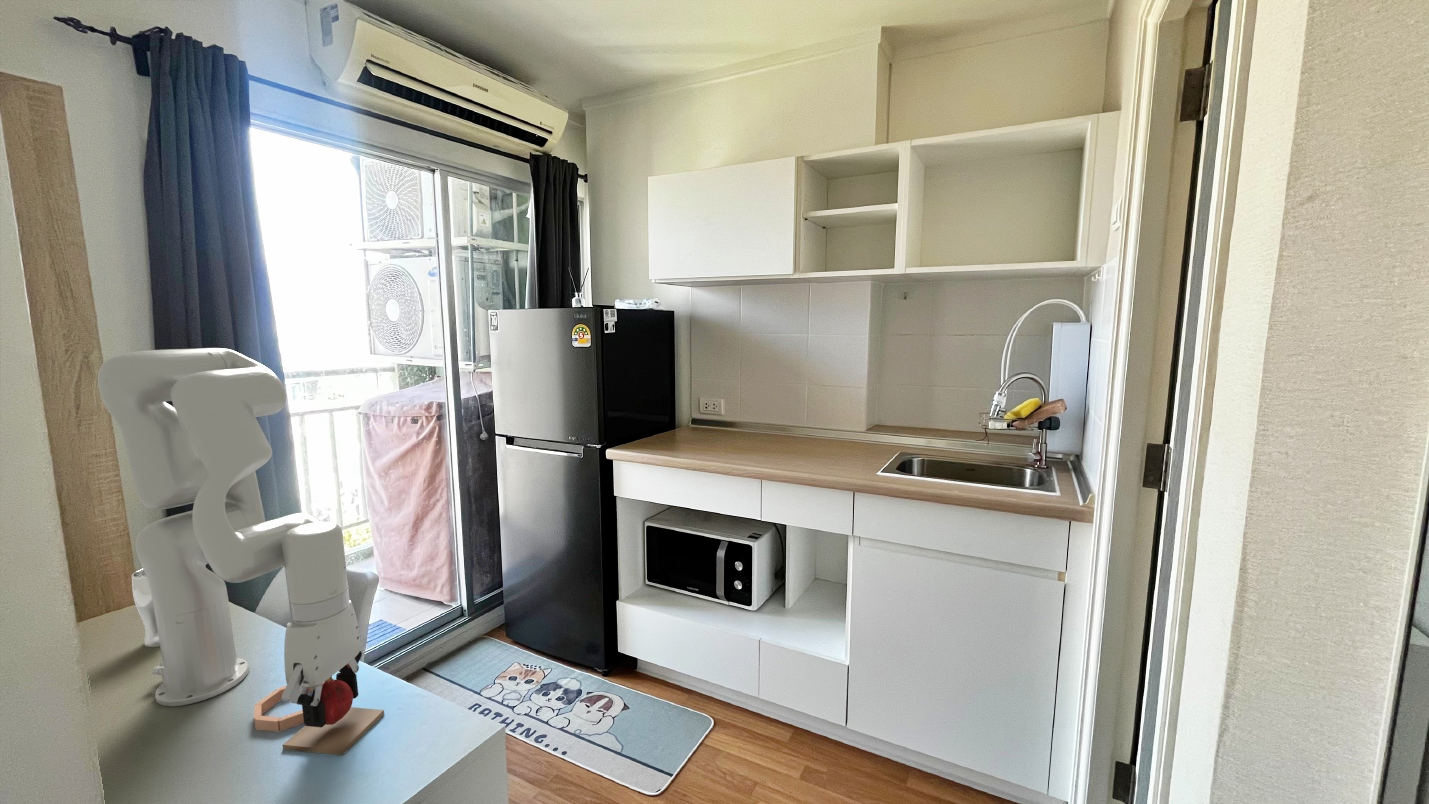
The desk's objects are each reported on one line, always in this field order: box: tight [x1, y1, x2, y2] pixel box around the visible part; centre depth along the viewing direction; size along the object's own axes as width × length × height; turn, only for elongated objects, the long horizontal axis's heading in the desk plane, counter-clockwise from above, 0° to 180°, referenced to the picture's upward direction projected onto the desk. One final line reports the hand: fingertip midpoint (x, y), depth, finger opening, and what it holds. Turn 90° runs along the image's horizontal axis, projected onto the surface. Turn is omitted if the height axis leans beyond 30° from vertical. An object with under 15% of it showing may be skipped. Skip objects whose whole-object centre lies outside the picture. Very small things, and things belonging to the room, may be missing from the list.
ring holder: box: [253, 682, 324, 733], centre depth 96 cm, size 10×10×2 cm
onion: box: [320, 675, 354, 725], centre depth 90 cm, size 6×6×8 cm
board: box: [281, 706, 385, 756], centre depth 91 cm, size 10×9×1 cm
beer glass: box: [131, 568, 160, 648], centre depth 116 cm, size 7×7×15 cm
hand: (332, 709), depth 90 cm, fingers open, 5 cm apart
